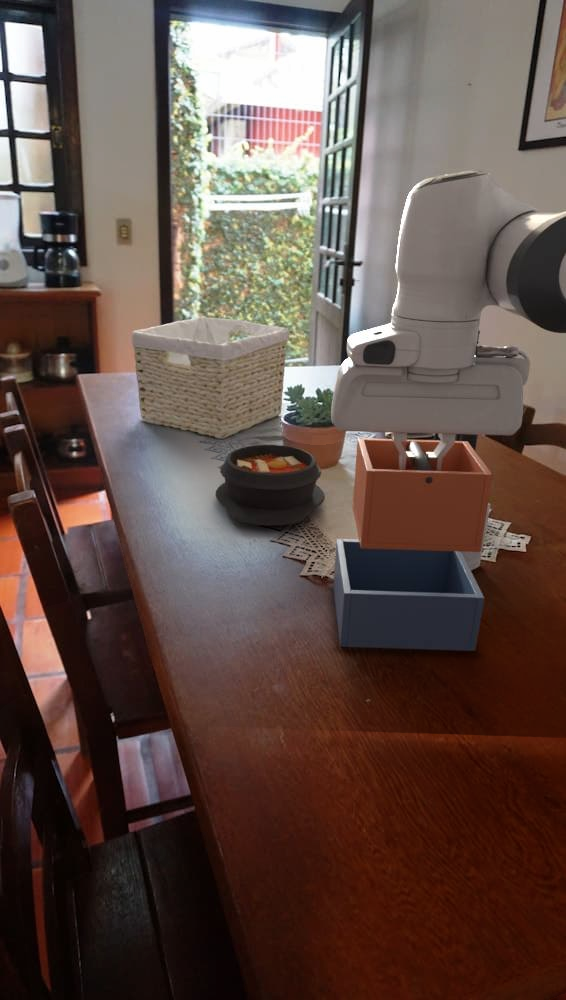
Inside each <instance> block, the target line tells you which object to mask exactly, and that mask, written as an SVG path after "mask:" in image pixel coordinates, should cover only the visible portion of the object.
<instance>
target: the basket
mask: <svg viewBox="0 0 566 1000" xmlns="http://www.w3.org/2000/svg"><path fill="white" fill-rule="evenodd" d="M232 334H234V335H236V336H239V335H245V336H247V337H243V338H238V339H235V340H232V341H231V337H232ZM289 338H290V330H289V329H288V328H286V327H283V326H275V325H268V324H261V323H256V322H253V321H245V320H243V319H234V318H219V317H207V316H206V315H203V316H196V317H194V318H190V319H183V320H177V321H173V322H170V323H169V322H168V323H165V324H161V325H156V326H151V327H147V328H141V329H135V330H133V331H132V333H131V344H132V347H133V352H134V361H135V369H136V370H135V374H136V381H137V389H138V390H137V391H138V403H139V404H138V405H139V406H138V407H139V412H140V418H141V420H142V422H145V423H149V424H153V425H155V424H156V425H159V426H164V427H172V428H175V429H180V430H182V431H191V432H194V433H196V432H197V433H198V434H199V435H207V436H209V437H214V438H215V439H219V440H223V439H225V438H228V437H229V436H233V435H236V434H237V433H239V432H240V431H243V430H249V429H250V428H252V427H253V426H254V425H258V424H261V423H264V422H265V421H266V420H270V419H273V418H276V417H277V416H280V415H281V414H282V406H283V392H284V379H285V378H284V377H285V366H286V365H285V364H286V355H287V345H288V340H289Z"/></svg>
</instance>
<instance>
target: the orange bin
mask: <svg viewBox="0 0 566 1000" xmlns="http://www.w3.org/2000/svg"><path fill="white" fill-rule="evenodd" d="M440 442H441V441H438V440H434V439H407V440H406V442H402V441H401V443H402V445H403V447H404V449H405V451H410V452H413V453H414V454H413V455H415V463H414V464H413V465H414V470H400V469H399V451H398V449H397V447H396V445H395V443H394V441H393V439H392V438H372V437H371V438H370V437H369V438H365V437H364V438H363V437H357V444H356V455H355V469H354V483H353V484H354V485H353V496H352V511H353V517H354V522H355V526H356V530H357V531H356V532H357V537H358V540H359V542H360V547H361V548H364V549H397V550H430V551H463V552H481V545H482V539H483V533H484V526H485V520H486V514H487V507H488V503H489V500H490V496H491V495H490V494H491V488H492V481H493V473H492V472H491V470H490V469H489V467H488V466H487V465H486V464H485V462H484V461H483V460H482V458H481V457H480V456H479V455H478V453H477V452H476V450H475V451H474V449H473V448H472V447H471V445H470V444H469V443H468V441H455V444H454V445H453V446H452V447H451V449H450V450H449V451H448V452H447V454H446V455H445V456H444V457H442V465H441V471H433V470H432V468H431V466H430V464H429V462H428V460H427V458H426V452H434V450H435V449H436V447H437V446H438V444H439V443H440Z"/></svg>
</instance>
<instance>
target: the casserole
mask: <svg viewBox="0 0 566 1000" xmlns="http://www.w3.org/2000/svg"><path fill="white" fill-rule="evenodd" d="M219 470H220V471H219V472H220V474H221V476H222V477H223V478H224V482H223V483H221V484H220V485H219V486H218V487H217V489H216V491H215V498H216V500H217V501H218V502H219V504H221V506H223V507H224V508H225V510H226V513H227V514H228V516H229V517H230V519H232V520H234V521H236V522H239V523H244V524H249V525H256V526H266V527H267V526H268V527H269V526H270V527H271V526H274V527H275V526H277V527H278V526H289V525H294V524H298V523H300V522H303V521H304V520H305V519H306V518H307V517H308V516H309V514H310V513H311V512H312V511H314V510H316V509H317V508H319V506H321V505H322V504H323V503H324V501H325V498H326V497H325V492H324V491H323V490H322V488H321V487H320V486H319V485H317V481H318V480H319V478H320V477H321V476H322V470H321V468H320V467H319V466H318V464H317V460H316V457H315V456H314V455H313V454H311V453H310V452H308V451H306V450H304V449H301V448H298V447H295V446H289V445H281V444H255V445H248V446H243V447H239V448H236V449H234V450H231V452H229V453H228V454H227V455H226V458H225V461H224V463H223V464H222V465H221V466H220V468H219Z"/></svg>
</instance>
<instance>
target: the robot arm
mask: <svg viewBox="0 0 566 1000" xmlns="http://www.w3.org/2000/svg"><path fill="white" fill-rule="evenodd" d="M395 272H396V278H397V294H396V298H395V302H394V303H393V306H392V310H391V320H390V321H391V322H389V323H386V324H383V325H380V326H376V327H372V328H370V329H366V330H362V331H359V332H356V333H352V334H351V335H350V336H349V337H348V338H347V341H346V353H347V357H348V358H346V359H345V360H344V361H343V362H342V363H341V364H340V366H339V368H338V370H337V374H336V377H335V381H334V387H333V393H332V399H331V409H330V419H331V423H332V425H333V426H334V427H335V428H336V430H337V431H339V432H358V433H359V432H361V433H362V432H363V433H385V432H391V437H390V438H391V439H393V441H394V443H395V445H396V447H397V449H398V451H399V469H400V470H414V465H413V464H414V463H415V455H413V454H414V453H413V452H410V451H405V449H404V447H403V445H402V443H401V441H402V442H406V440H408V438H407V433H434V434H438V436H439V438H440V439H441V442H440V443H439V444H438V446H437V447H436V449H435V450H434V452H426V458H427V460H428V462H429V464H430V466H431V468H432V470H433V471H441V465H442V457H444V456H445V455H446V454H447V452H448V451H449V450H450V449H451V447H452V446H453V445H454V444H455V436H456V434H473V435H478V436H513V435H515V433H517V432H518V431H519V430H520V428H521V427H522V423H523V416H524V415H523V414H524V386H525V385H526V384H527V382H528V379H529V373H530V369H531V361H530V358H529V356H528V355H527V353H526V352H523V351H521V350H520V349H519V347H517V346H512V345H508V346H494V345H481V344H477V339H478V338H479V337H478V331H480V324H481V323H480V322H481V316H482V311H483V310H484V309H485V308H486V307H488V306H494V307H497V308H500V309H503V310H505V311H507V312H509V313H511V314H514V315H516V316H519V317H523V318H524V319H525V320H527V321H529V322H530V323H532V324H534V325H535V326H537V327H539V328H541V329H543V330H545V331H547V332H551V333H557V334H566V210H564V211H562V212H555V211H554V212H552V211H551V212H549V211H540V210H538V208H536V207H534V206H532V205H530V204H528V203H526V202H524V201H522V200H520V199H519V198H518V197H515V196H514V195H512V194H511V193H510V192H508V191H507V190H506V189H504V188H503V187H502V186H501V185H499V184H498V183H497V182H496V181H495V180H494V178H493V177H492V175H491V173H489V172H487V171H485V170H479V169H478V170H477V169H476V170H475V169H473V170H466V171H465V170H464V171H459V172H453V173H452V172H451V173H447V174H441V175H436V176H435V175H434V176H431V177H427V178H425V179H423V180H421V181H420V182H418V183H417V184H416V185H414V186H413V188H411V190H410V192H409V193H408V196H407V199H406V202H405V205H404V209H403V213H402V218H401V224H400V230H399V236H398V244H397V253H396V263H395Z"/></svg>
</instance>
